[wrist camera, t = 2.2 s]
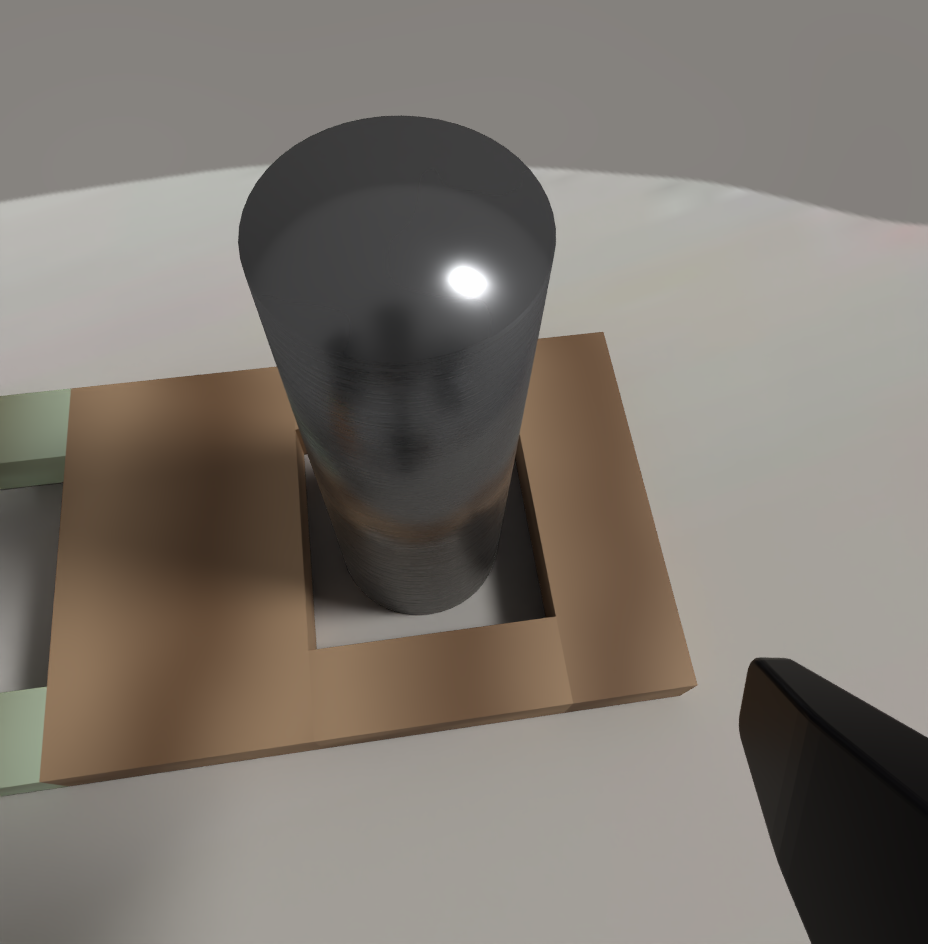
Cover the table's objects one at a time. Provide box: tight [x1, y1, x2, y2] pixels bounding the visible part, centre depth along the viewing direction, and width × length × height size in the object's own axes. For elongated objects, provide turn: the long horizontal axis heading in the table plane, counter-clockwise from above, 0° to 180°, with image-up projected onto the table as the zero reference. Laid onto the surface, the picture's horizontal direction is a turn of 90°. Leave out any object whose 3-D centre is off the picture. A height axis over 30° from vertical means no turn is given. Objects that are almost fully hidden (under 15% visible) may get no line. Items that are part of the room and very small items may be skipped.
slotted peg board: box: [0, 332, 697, 796], centre depth 22 cm, size 26×11×2 cm, turn 98°
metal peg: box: [238, 116, 556, 615], centre depth 17 cm, size 5×5×13 cm
